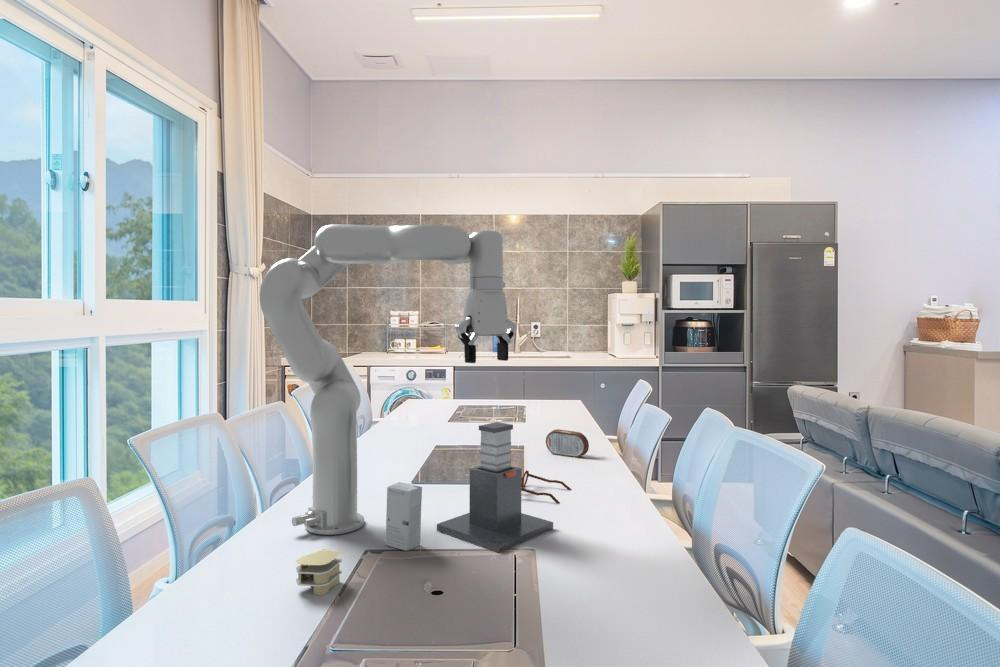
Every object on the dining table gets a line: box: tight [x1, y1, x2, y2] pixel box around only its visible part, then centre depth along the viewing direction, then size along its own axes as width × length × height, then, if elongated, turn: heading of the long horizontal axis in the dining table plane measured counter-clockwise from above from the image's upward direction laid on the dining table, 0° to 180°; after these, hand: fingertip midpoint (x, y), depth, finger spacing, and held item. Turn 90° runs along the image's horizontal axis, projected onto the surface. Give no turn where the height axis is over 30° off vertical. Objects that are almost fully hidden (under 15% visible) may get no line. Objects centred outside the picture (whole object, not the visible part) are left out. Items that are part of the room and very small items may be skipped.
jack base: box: [436, 465, 554, 553], centre depth 131 cm, size 18×18×14 cm
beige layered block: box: [295, 548, 343, 596], centre depth 103 cm, size 10×9×6 cm
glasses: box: [521, 469, 572, 504], centre depth 158 cm, size 13×13×5 cm
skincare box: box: [385, 481, 423, 552], centre depth 122 cm, size 6×4×12 cm
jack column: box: [478, 421, 514, 474], centre depth 131 cm, size 6×5×21 cm
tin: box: [545, 428, 590, 459], centre depth 201 cm, size 15×3×8 cm, turn 58°
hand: (486, 361), depth 137 cm, fingers open, 9 cm apart
